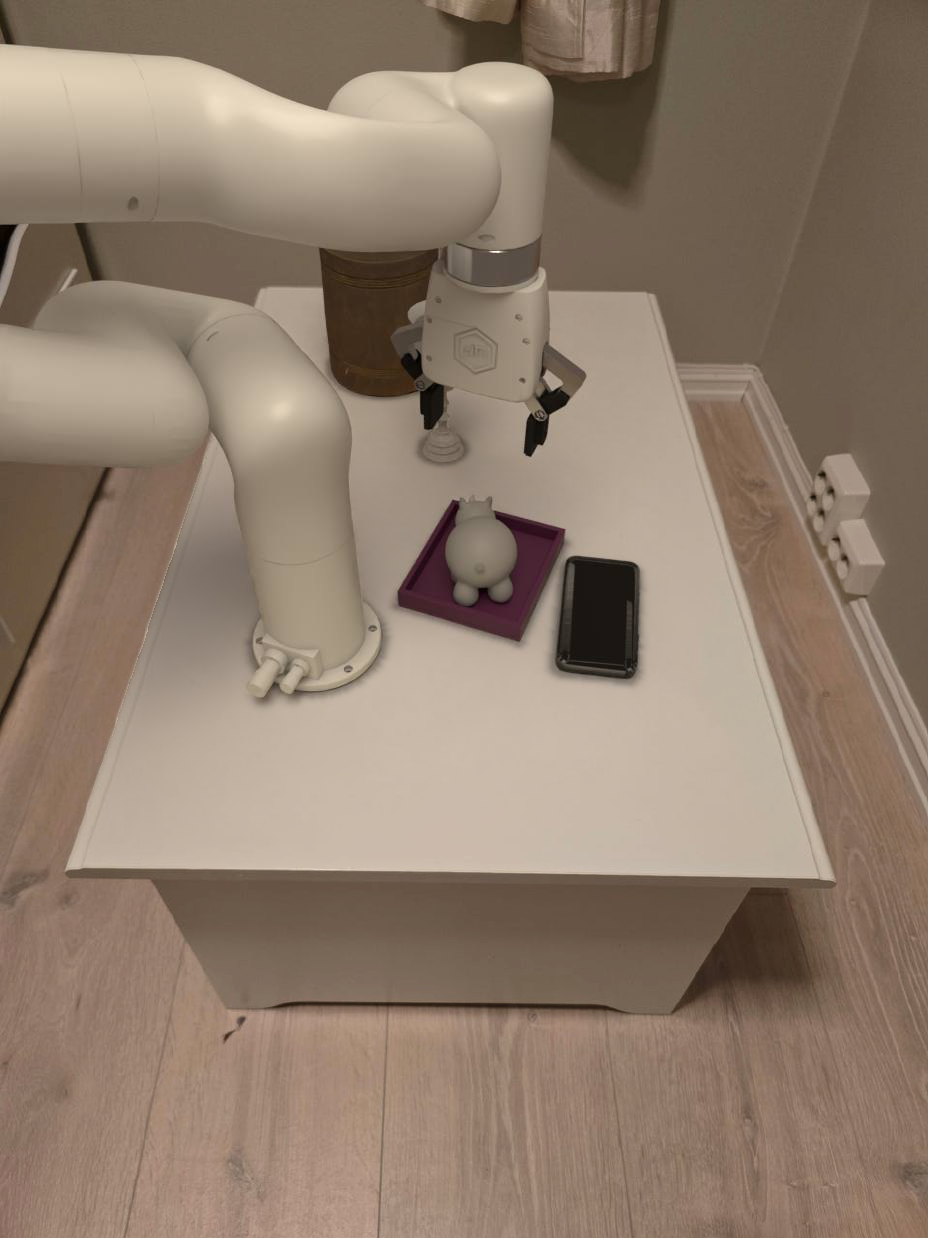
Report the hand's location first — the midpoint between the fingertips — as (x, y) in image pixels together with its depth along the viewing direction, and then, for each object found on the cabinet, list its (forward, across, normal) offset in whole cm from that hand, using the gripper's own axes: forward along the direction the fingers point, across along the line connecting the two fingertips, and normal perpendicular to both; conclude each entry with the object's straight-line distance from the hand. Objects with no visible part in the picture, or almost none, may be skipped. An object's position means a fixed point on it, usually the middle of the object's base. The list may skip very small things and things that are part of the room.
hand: (482, 434), depth 81 cm
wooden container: (+18, -26, +32) cm, 45 cm away
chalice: (+18, -11, +18) cm, 28 cm away
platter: (+18, +1, +1) cm, 18 cm away
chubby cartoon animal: (+18, 0, 0) cm, 18 cm away
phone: (+18, +14, -1) cm, 23 cm away
